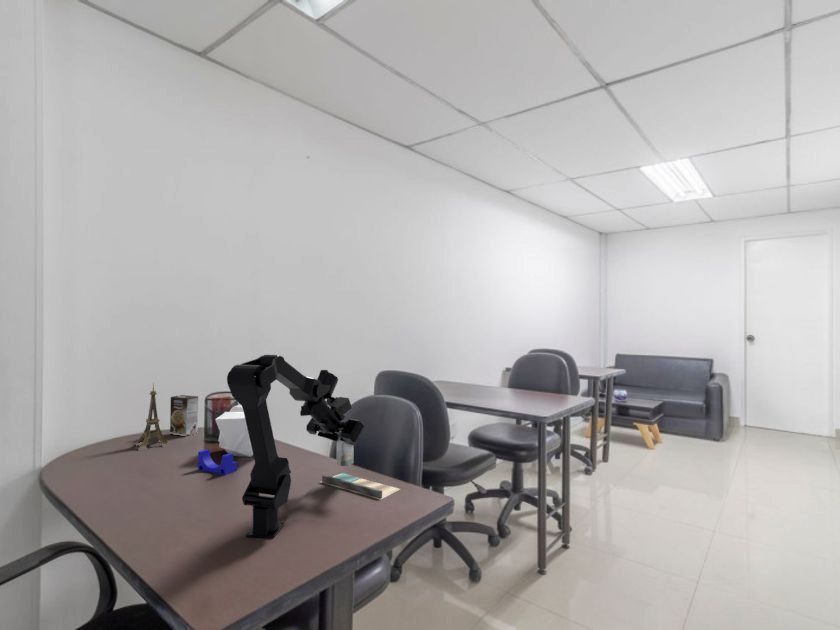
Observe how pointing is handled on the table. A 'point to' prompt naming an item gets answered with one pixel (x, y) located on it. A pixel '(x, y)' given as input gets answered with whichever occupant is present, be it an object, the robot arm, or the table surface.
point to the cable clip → (208, 465)
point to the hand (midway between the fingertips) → (348, 442)
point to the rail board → (359, 485)
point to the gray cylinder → (344, 452)
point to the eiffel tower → (150, 421)
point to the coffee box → (184, 414)
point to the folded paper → (234, 432)
